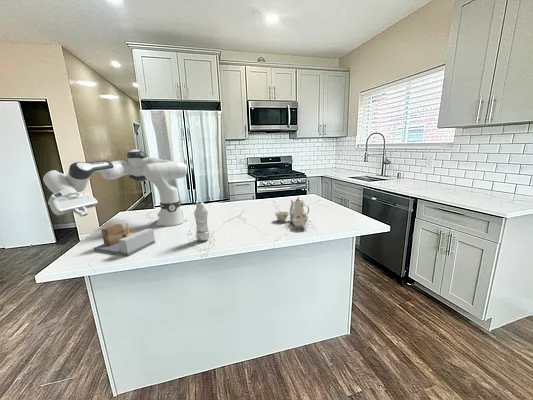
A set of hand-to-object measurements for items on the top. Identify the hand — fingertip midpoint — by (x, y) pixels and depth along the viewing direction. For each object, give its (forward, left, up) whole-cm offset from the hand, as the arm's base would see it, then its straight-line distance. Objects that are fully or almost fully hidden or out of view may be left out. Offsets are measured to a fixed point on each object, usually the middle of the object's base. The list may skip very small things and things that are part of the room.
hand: (84, 215), depth 126 cm
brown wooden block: (+12, +13, -13) cm, 22 cm away
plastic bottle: (+33, +51, -15) cm, 63 cm away
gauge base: (+19, +16, -15) cm, 29 cm away
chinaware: (+38, +106, -15) cm, 114 cm away
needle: (+12, +18, -13) cm, 25 cm away
